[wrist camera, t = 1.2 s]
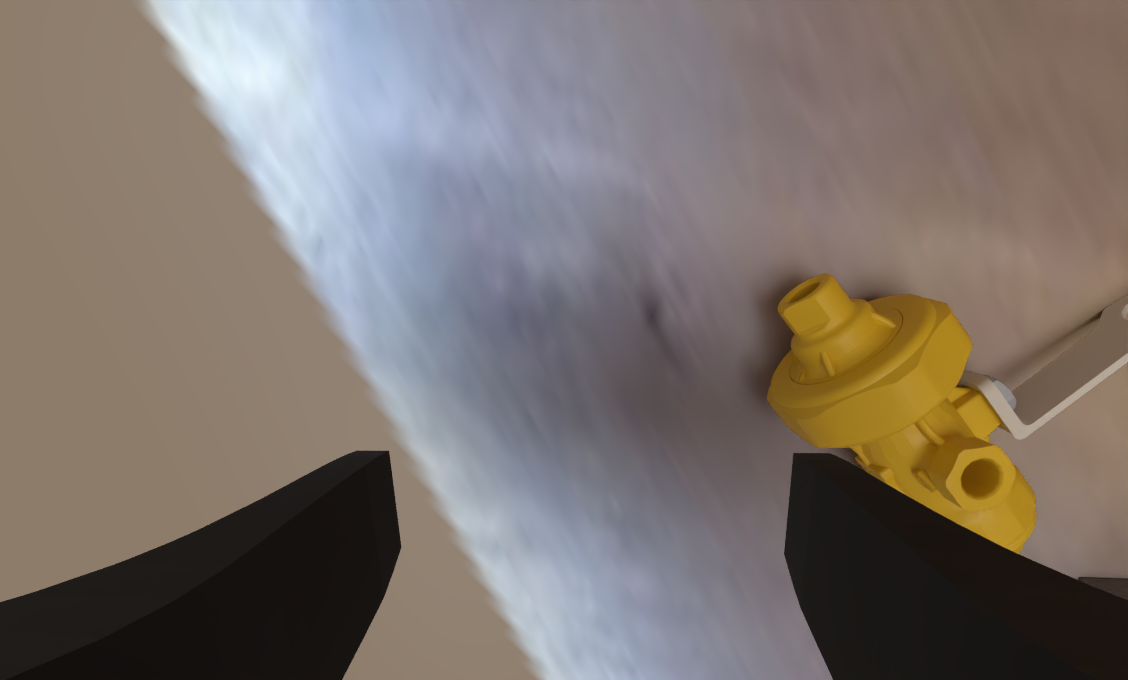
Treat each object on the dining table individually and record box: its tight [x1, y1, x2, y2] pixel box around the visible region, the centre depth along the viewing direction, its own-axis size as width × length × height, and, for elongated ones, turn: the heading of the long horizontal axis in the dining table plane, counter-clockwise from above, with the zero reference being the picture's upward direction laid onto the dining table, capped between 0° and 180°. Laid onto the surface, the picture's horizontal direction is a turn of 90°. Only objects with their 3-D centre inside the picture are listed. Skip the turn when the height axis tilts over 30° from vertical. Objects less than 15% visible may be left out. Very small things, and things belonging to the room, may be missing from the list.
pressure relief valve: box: [767, 274, 1128, 554], centre depth 17 cm, size 6×12×10 cm
